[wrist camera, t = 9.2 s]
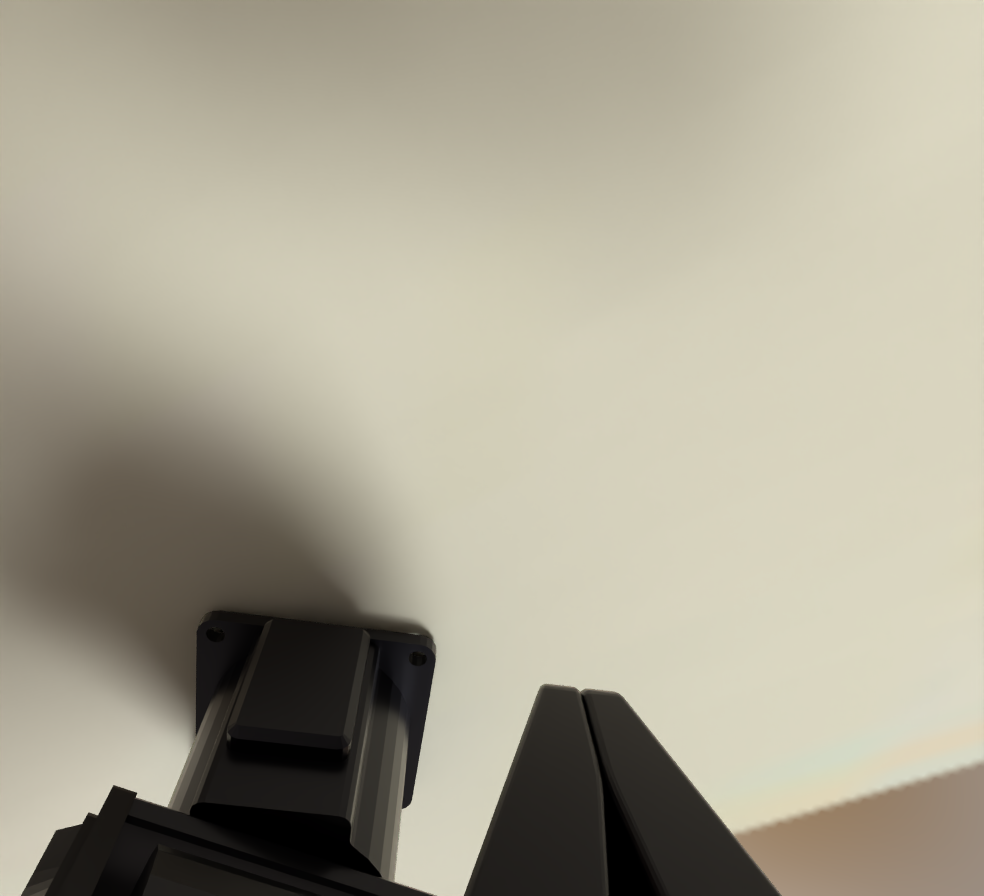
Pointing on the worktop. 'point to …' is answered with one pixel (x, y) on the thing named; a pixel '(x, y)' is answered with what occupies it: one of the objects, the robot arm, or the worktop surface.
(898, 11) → the worktop surface
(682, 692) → the worktop surface
